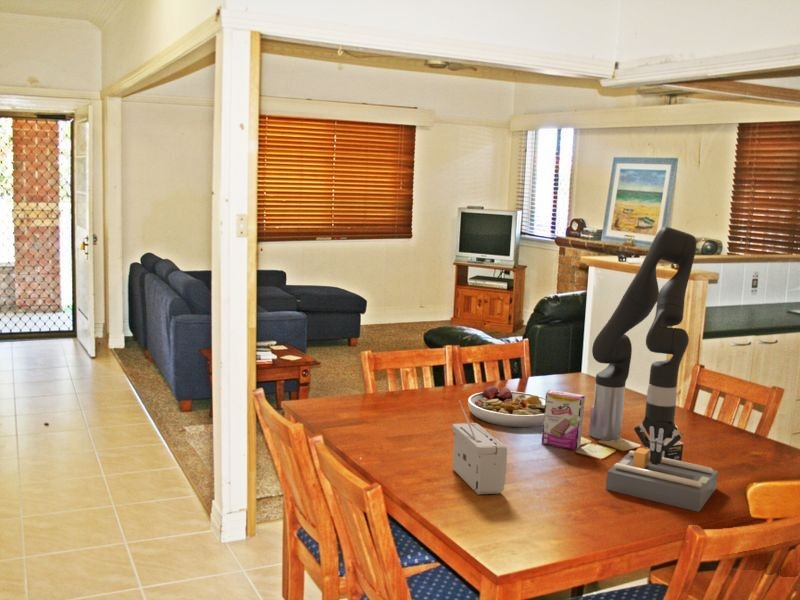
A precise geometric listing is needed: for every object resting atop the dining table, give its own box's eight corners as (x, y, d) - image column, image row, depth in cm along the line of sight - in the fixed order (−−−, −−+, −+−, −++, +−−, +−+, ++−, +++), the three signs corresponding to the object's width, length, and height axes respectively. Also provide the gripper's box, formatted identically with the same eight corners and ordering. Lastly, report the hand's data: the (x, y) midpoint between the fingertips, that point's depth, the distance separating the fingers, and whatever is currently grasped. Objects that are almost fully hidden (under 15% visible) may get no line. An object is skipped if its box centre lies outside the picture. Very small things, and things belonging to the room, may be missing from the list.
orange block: (632, 466, 230) (634, 452, 229) (638, 461, 234) (639, 447, 234) (643, 468, 228) (645, 454, 228) (649, 463, 233) (650, 449, 232)
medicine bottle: (663, 469, 245) (667, 429, 243) (645, 461, 251) (649, 421, 249) (681, 466, 248) (685, 426, 246) (663, 458, 254) (667, 419, 252)
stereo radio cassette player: (505, 495, 219) (511, 420, 216) (475, 497, 217) (480, 421, 214) (475, 467, 239) (480, 397, 236) (447, 468, 237) (452, 398, 233)
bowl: (575, 423, 287) (577, 400, 285) (507, 435, 270) (509, 411, 268) (515, 400, 311) (516, 379, 310) (449, 410, 294) (451, 388, 293)
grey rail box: (605, 489, 227) (607, 465, 226) (628, 468, 244) (630, 446, 243) (698, 511, 215) (701, 486, 213) (715, 488, 231) (718, 465, 230)
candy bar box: (540, 444, 261) (545, 392, 259) (545, 440, 266) (549, 388, 263) (577, 451, 257) (581, 398, 254) (581, 446, 261) (585, 394, 259)
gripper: (690, 402, 226) (683, 465, 229) (640, 393, 233) (634, 454, 236) (683, 408, 220) (676, 473, 223) (632, 399, 227) (626, 462, 230)
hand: (655, 463), depth 229 cm, fingers closed
